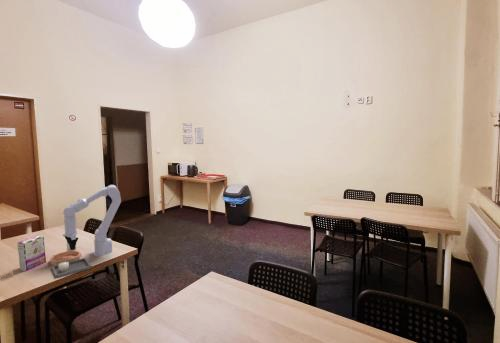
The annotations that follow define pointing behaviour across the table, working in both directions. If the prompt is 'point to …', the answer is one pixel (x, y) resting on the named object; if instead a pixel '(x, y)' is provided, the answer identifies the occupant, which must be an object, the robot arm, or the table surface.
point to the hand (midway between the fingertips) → (71, 248)
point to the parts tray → (72, 267)
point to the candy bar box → (31, 253)
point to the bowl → (65, 257)
